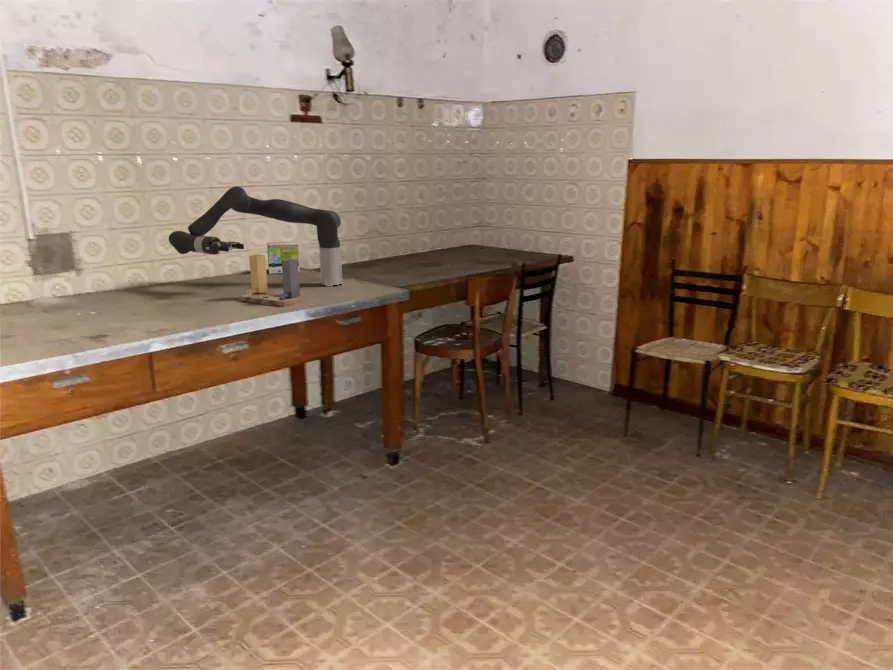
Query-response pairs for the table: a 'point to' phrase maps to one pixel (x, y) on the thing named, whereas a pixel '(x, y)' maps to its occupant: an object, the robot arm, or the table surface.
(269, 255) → the tea box
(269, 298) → the divider base
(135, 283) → the table surface
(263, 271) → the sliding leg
